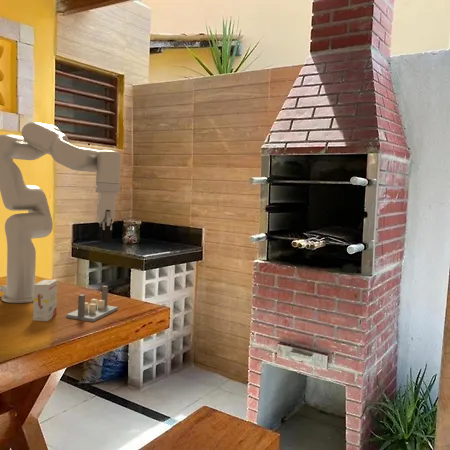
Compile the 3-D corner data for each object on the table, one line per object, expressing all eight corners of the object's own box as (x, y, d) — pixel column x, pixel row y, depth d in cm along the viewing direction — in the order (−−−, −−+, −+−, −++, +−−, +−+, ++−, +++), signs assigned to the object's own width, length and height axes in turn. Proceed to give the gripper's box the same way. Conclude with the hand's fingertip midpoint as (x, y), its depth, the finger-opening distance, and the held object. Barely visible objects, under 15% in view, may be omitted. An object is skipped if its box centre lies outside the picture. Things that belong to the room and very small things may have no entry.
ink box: (42, 313, 155) (43, 278, 154) (57, 314, 155) (58, 279, 154) (31, 320, 146) (33, 284, 145) (47, 321, 146) (48, 285, 145)
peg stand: (66, 317, 152) (67, 293, 151) (92, 305, 167) (93, 284, 166) (93, 321, 149) (94, 297, 148) (117, 309, 165) (118, 287, 164)
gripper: (93, 186, 158) (91, 236, 160) (97, 188, 142) (95, 243, 143) (116, 188, 161) (113, 236, 162) (122, 190, 144) (119, 244, 146)
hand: (105, 240), depth 153 cm, fingers open, 9 cm apart
